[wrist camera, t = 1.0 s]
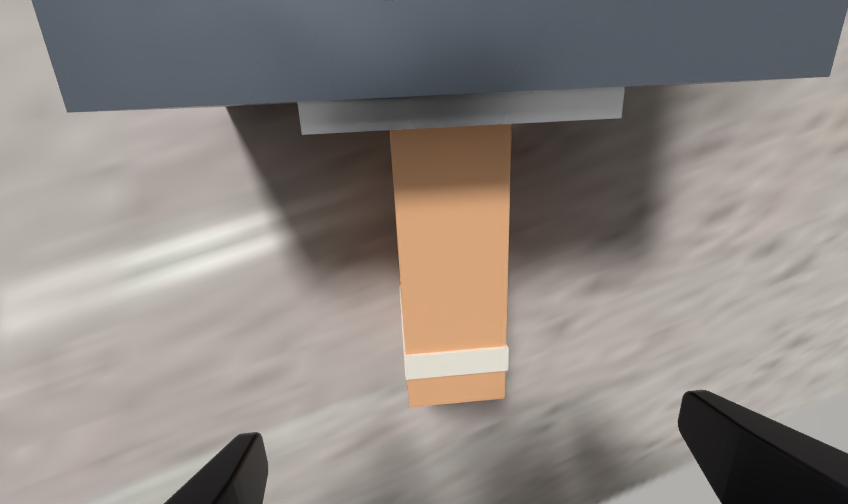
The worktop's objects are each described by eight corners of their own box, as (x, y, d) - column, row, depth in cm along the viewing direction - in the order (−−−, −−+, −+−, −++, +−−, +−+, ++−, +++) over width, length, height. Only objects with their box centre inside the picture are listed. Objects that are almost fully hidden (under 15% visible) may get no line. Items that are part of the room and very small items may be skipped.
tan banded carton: (475, 320, 18) (507, 400, 13) (402, 326, 18) (408, 409, 13) (473, -76, 13) (522, -177, 8) (373, -74, 13) (366, -177, 8)
